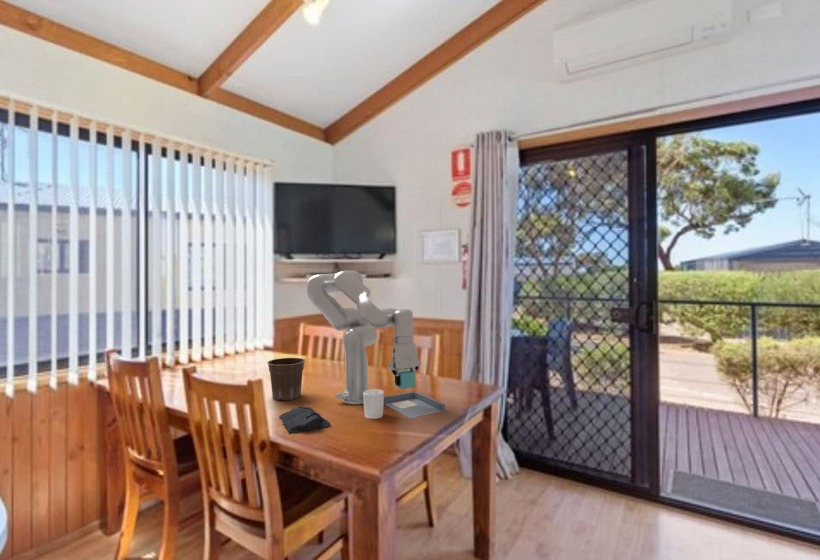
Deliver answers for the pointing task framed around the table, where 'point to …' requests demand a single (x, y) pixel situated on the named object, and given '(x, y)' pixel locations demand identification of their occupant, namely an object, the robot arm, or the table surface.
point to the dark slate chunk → (303, 420)
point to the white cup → (373, 403)
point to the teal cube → (406, 379)
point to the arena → (413, 404)
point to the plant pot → (286, 377)
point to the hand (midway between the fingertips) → (405, 383)
